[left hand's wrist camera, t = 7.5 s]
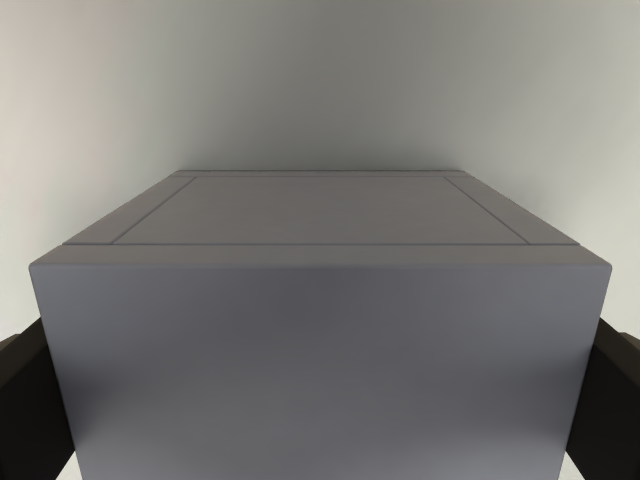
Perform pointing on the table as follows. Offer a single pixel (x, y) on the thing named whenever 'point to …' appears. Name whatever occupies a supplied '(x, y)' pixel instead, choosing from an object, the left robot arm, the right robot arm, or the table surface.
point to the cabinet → (320, 330)
